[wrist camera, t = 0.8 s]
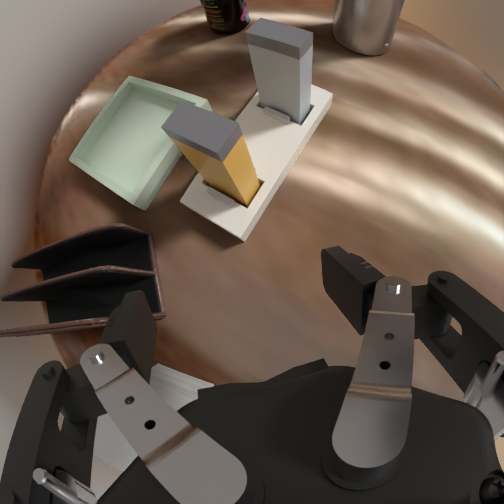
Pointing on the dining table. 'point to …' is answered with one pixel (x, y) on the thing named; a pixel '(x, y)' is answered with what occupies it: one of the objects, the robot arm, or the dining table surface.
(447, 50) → the dining table surface
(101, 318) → the letter holder
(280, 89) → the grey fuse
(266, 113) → the block
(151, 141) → the tray
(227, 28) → the supplement container
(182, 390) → the supplement box
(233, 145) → the yellow grey long block
